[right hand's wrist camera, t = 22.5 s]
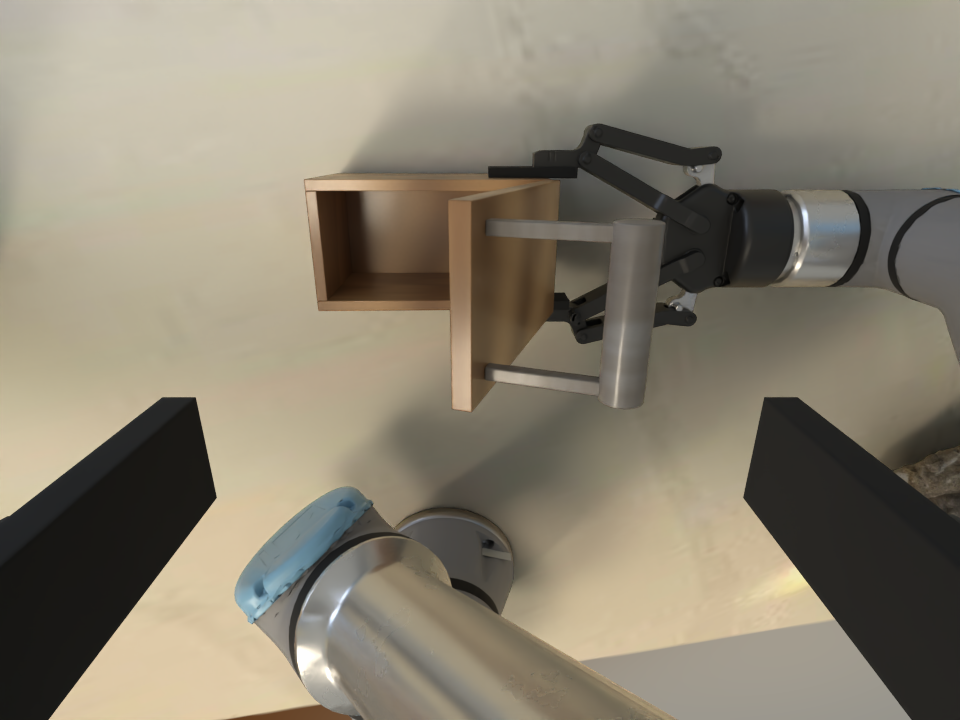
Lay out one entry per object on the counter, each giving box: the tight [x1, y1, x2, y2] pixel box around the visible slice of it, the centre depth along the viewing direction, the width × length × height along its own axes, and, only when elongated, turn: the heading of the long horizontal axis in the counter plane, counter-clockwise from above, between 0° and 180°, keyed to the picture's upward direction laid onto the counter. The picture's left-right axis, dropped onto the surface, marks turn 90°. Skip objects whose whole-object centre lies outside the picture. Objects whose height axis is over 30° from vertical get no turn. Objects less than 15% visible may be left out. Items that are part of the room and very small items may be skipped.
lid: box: [448, 180, 666, 412], centre depth 30 cm, size 18×9×8 cm
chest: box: [304, 173, 551, 311], centre depth 44 cm, size 17×9×11 cm, turn 90°
